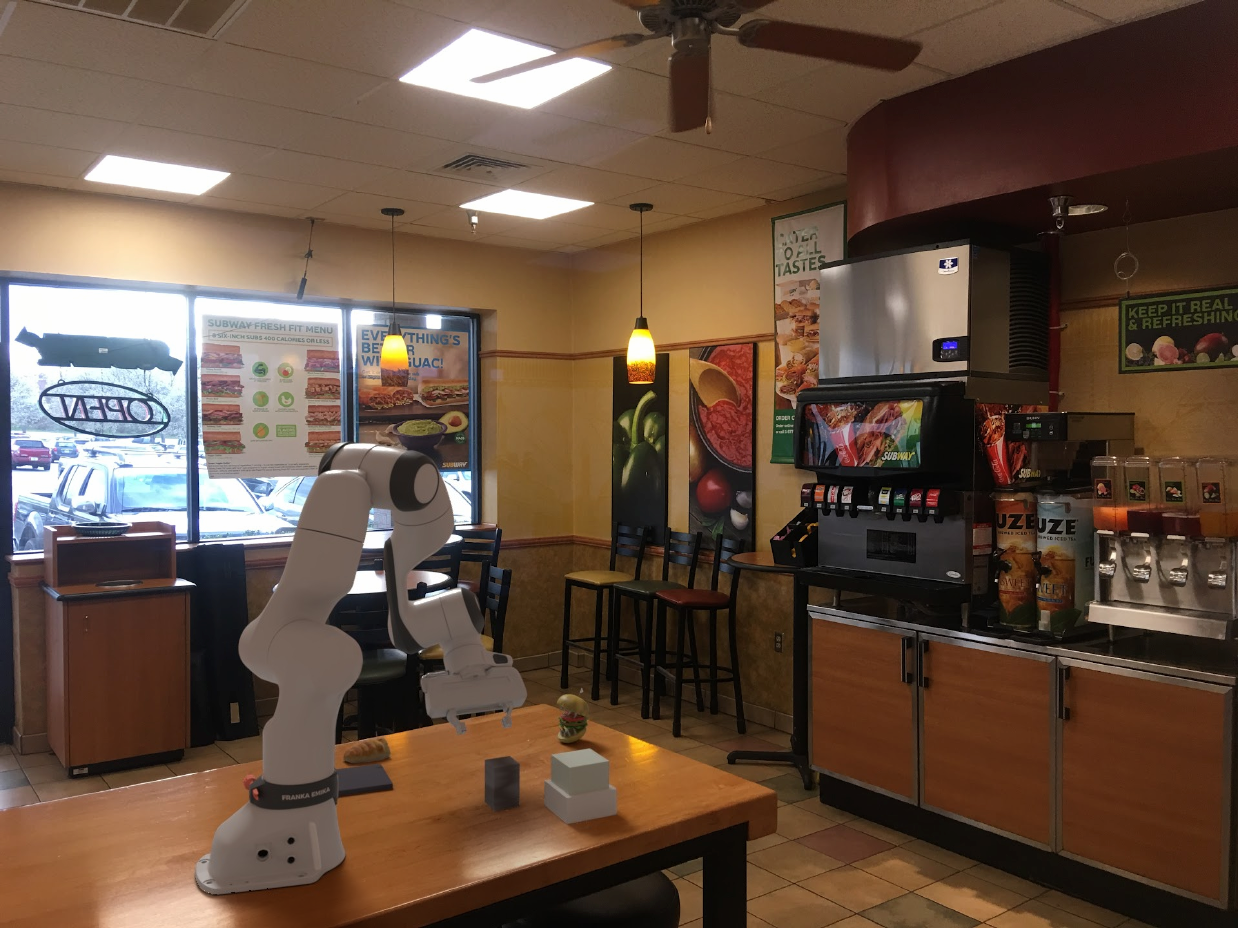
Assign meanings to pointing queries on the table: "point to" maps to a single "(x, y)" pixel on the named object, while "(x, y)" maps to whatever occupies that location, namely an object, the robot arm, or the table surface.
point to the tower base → (580, 803)
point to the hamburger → (572, 718)
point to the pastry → (368, 751)
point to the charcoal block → (502, 783)
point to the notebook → (362, 779)
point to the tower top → (579, 771)
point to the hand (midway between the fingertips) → (485, 729)
